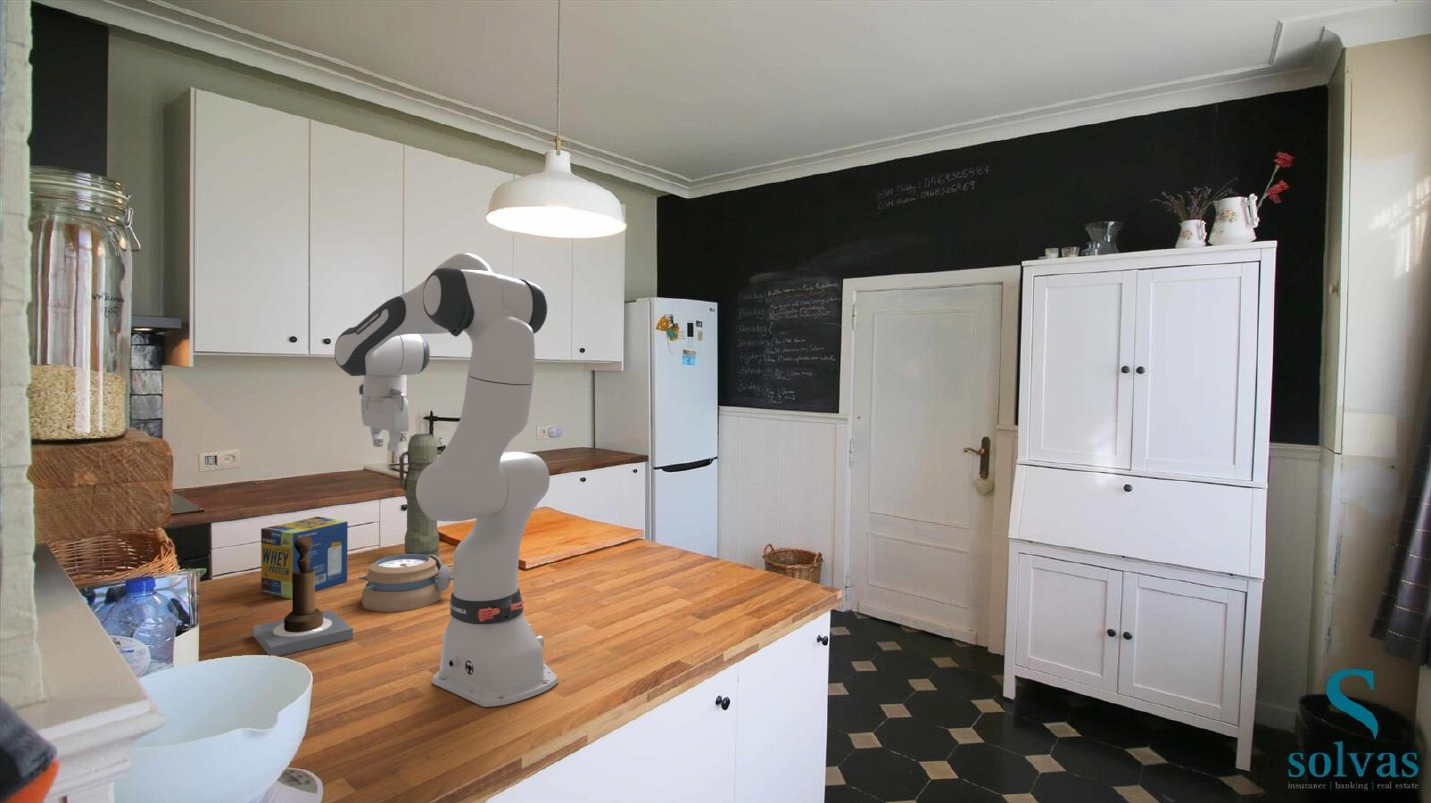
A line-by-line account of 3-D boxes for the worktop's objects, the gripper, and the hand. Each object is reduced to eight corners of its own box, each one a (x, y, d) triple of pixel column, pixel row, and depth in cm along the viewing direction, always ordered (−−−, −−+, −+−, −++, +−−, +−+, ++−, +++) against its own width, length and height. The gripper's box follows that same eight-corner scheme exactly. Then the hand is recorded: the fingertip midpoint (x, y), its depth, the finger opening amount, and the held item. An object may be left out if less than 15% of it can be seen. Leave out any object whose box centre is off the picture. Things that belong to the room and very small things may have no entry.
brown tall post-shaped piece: (318, 618, 142) (318, 531, 141) (327, 627, 137) (326, 537, 136) (280, 625, 137) (280, 536, 136) (288, 635, 133) (288, 542, 132)
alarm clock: (356, 556, 163) (457, 544, 176) (356, 595, 163) (457, 580, 176) (367, 575, 149) (477, 560, 162) (367, 617, 149) (476, 599, 162)
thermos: (395, 557, 195) (395, 434, 194) (438, 551, 202) (439, 432, 201) (403, 565, 188) (404, 436, 187) (448, 558, 195) (448, 435, 194)
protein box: (259, 593, 162) (259, 528, 162) (318, 576, 177) (318, 516, 176) (291, 600, 159) (291, 533, 158) (348, 581, 173) (349, 520, 172)
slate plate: (352, 638, 137) (352, 627, 137) (270, 658, 127) (270, 646, 127) (331, 619, 147) (331, 609, 147) (253, 636, 137) (253, 625, 137)
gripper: (417, 390, 153) (417, 452, 154) (384, 387, 168) (383, 443, 168) (387, 390, 149) (387, 454, 149) (356, 387, 163) (355, 445, 164)
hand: (385, 448), depth 159 cm, fingers open, 8 cm apart
